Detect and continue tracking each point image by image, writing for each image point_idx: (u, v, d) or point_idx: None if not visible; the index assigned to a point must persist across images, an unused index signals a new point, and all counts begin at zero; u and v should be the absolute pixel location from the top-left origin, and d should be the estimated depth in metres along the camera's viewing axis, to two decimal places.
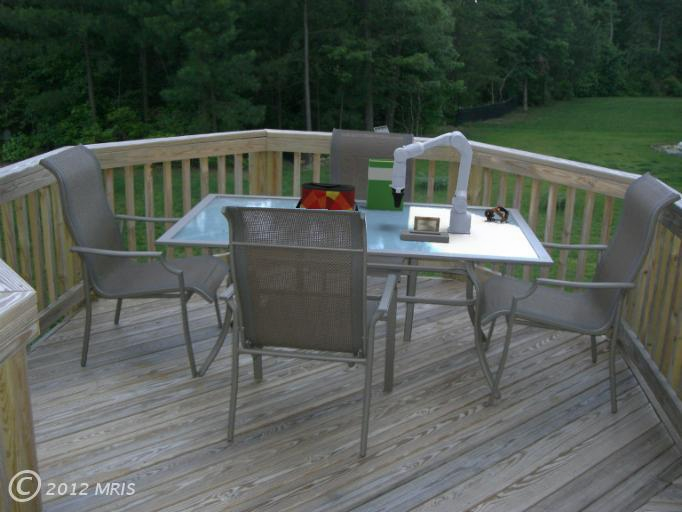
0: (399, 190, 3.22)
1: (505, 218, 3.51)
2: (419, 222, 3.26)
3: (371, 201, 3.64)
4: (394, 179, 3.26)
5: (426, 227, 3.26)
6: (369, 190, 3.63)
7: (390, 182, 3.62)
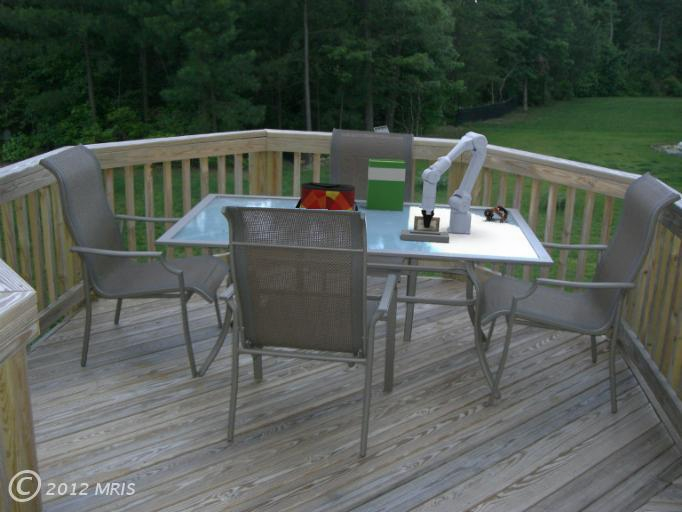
0: (429, 212, 3.18)
1: (505, 218, 3.52)
2: (419, 221, 3.26)
3: (371, 201, 3.64)
4: (424, 200, 3.22)
5: None
6: (369, 190, 3.63)
7: (390, 182, 3.62)
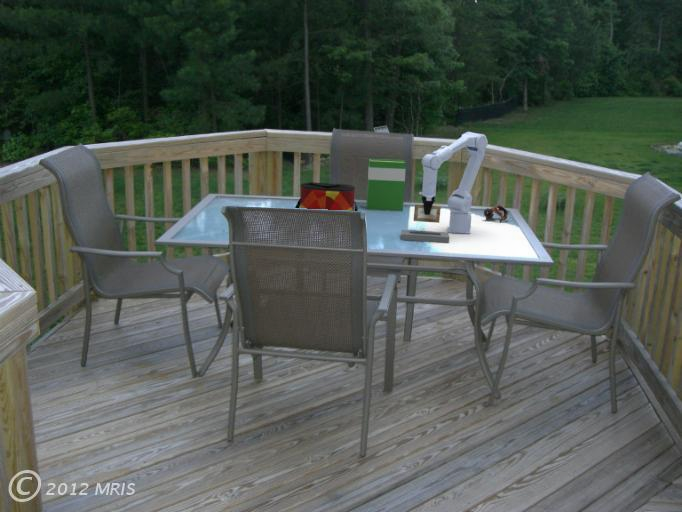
0: (430, 198, 3.11)
1: (504, 217, 3.53)
2: (419, 210, 3.19)
3: (371, 201, 3.64)
4: (424, 186, 3.15)
5: (426, 215, 3.19)
6: (369, 190, 3.63)
7: (390, 182, 3.62)
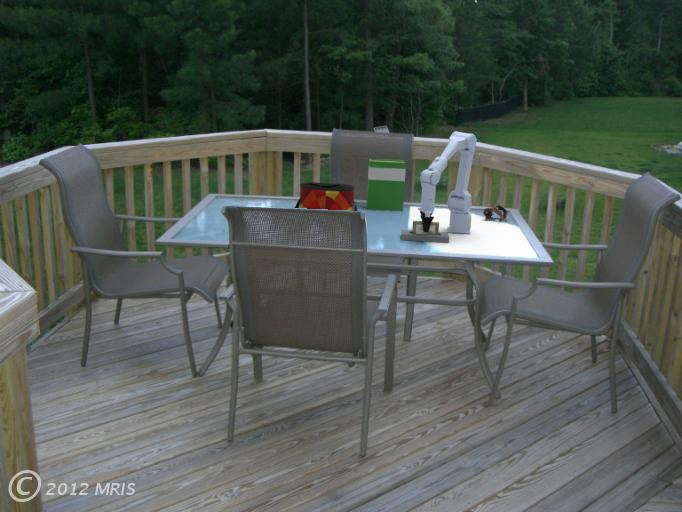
0: (429, 214, 3.07)
1: (504, 217, 3.54)
2: (417, 226, 3.15)
3: (371, 201, 3.64)
4: (423, 202, 3.11)
5: (425, 232, 3.16)
6: (369, 190, 3.63)
7: (390, 182, 3.62)
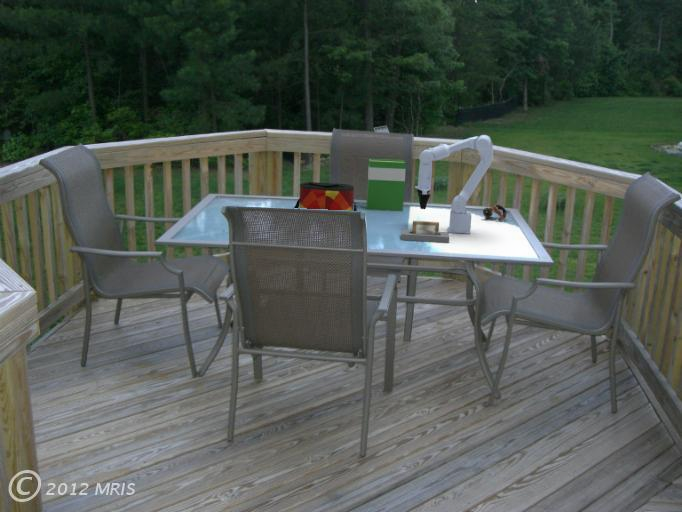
0: (425, 192, 3.24)
1: (503, 216, 3.54)
2: (417, 226, 3.15)
3: (371, 201, 3.64)
4: (420, 181, 3.28)
5: (425, 232, 3.16)
6: (369, 190, 3.63)
7: (390, 182, 3.62)
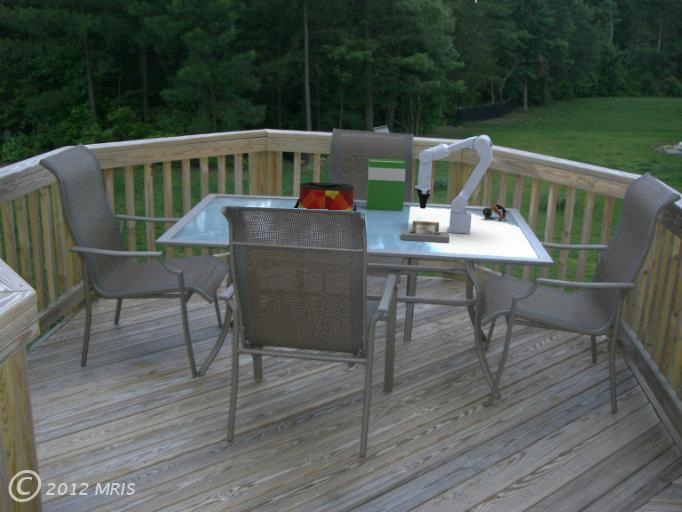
0: (425, 191, 3.26)
1: (503, 216, 3.55)
2: (417, 226, 3.15)
3: (371, 201, 3.64)
4: (420, 180, 3.30)
5: (425, 232, 3.16)
6: (369, 190, 3.63)
7: (390, 182, 3.62)
